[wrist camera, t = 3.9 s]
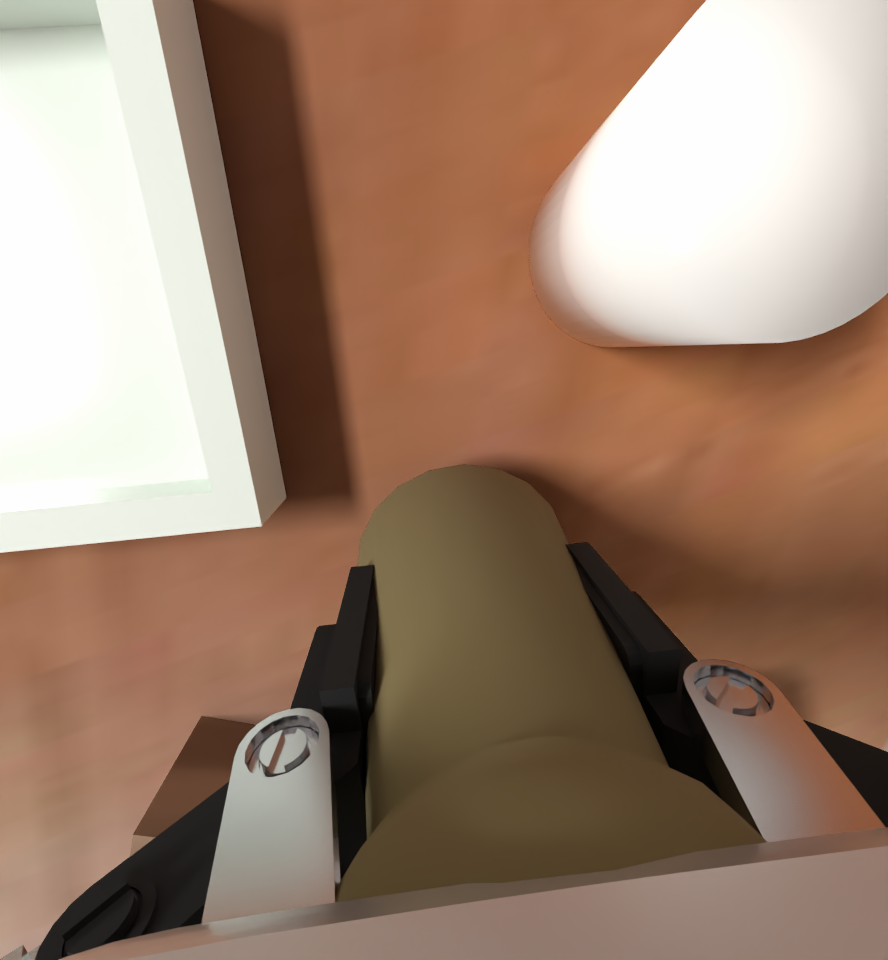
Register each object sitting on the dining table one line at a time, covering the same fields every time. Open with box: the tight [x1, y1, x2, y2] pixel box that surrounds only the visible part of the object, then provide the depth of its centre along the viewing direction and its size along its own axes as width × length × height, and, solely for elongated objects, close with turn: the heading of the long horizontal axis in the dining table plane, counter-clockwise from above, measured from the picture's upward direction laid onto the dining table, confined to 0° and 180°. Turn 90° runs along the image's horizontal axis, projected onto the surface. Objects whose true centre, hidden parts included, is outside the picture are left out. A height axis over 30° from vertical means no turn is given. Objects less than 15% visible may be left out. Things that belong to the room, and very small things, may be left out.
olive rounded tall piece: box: [336, 464, 767, 902], centre depth 8 cm, size 6×6×11 cm
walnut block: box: [130, 716, 256, 856], centre depth 14 cm, size 4×4×4 cm
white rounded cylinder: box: [529, 0, 888, 347], centre depth 9 cm, size 5×5×6 cm
